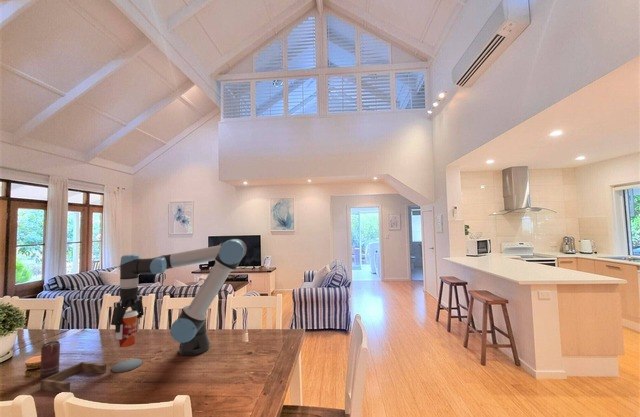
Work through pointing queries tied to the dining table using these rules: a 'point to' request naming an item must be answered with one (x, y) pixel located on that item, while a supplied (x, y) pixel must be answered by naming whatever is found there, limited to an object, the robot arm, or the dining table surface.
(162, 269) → the robot arm
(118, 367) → the coaster
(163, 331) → the dining table surface
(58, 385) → the u-shaped wooden bracket
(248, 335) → the dining table surface
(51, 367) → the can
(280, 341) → the dining table surface
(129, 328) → the coffee cup
